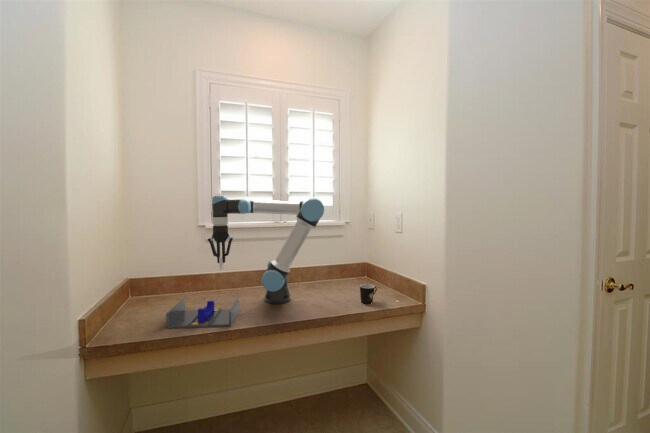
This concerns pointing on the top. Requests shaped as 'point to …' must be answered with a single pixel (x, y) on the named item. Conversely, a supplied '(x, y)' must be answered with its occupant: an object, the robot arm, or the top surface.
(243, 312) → the top surface
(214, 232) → the robot arm
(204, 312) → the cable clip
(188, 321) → the desk rack
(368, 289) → the coffee mug
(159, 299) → the top surface
